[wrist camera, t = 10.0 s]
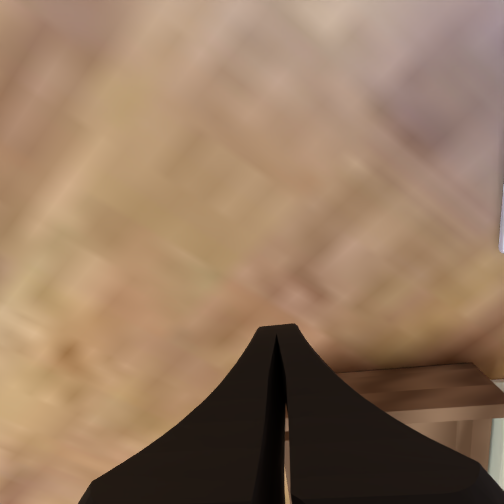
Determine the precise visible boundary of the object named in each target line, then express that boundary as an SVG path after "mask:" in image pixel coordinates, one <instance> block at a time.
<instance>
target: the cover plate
mask: <svg viewBox="0 0 504 504" xmlns="http://www.w3.org/2000/svg"><path fill="white" fill-rule="evenodd" d="M491 381H492V382H493V383H494V384H495V385H496V386H497V387H498V388H500V389H501V390H502V391H503V392H504V379H497V380H491ZM488 474H489V475H490V476H491V477H492V478H493V479H494V480H495V481H496V483H497V484H498V485H499V486H500V487H501V488H502V489H503V490H504V418H494V419H492V426H491V437H490V449H489V461H488Z"/></svg>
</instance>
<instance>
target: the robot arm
mask: <svg viewBox="0 0 504 504" xmlns="http://www.w3.org/2000/svg"><path fill="white" fill-rule="evenodd" d="M499 250H500V252H501V253H503V254H504V186H503V198H502V211H501V224H500V237H499ZM286 407H287V413H288V425H289V452H290V494H291V501H292V504H504V490H503V489H502V488H501V487H500V486H499V485H498V484H497V483H496V481H495V480H494V479H493V478H492V477H491V476H490V475H489V474H488V472H487V471H486V470H485V469H484V468H483V467H482V465H481V464H480V463H479V462H477V461H475V460H473V459H471V458H469V457H467V456H465V455H463V454H461V453H459V452H457V451H455V450H453V449H451V448H449V447H447V446H445V445H443V444H441V443H439V442H437V441H435V440H433V439H430V438H428V437H427V436H425V435H423V434H421V433H419V432H418V431H416V430H414V429H412V428H411V427H409V426H407V425H405V424H404V423H402V422H400V421H398V420H397V419H395V418H394V417H392V416H390V415H389V414H387V413H386V412H384V411H383V410H381V409H380V408H378V407H377V406H376V405H374V404H373V403H371V402H370V401H368V400H367V399H365V398H364V397H363V396H361V395H360V394H359V393H358V392H356V391H355V390H354V389H353V388H351V387H350V386H349V385H348V384H347V383H346V382H344V381H343V380H342V379H341V378H340V377H339V376H338V375H337V374H336V373H335V372H334V371H333V370H332V369H331V368H330V367H329V366H328V365H327V364H326V363H325V362H324V361H323V360H322V359H321V358H320V357H319V355H318V354H317V353H316V352H315V351H314V349H313V348H312V347H311V346H310V344H309V343H308V342H307V340H306V339H305V338H304V336H303V335H302V333H301V332H300V330H299V328H298V326H297V325H296V324H283V325H273V326H263V327H259V328H258V329H257V331H256V333H255V334H254V336H253V338H252V340H251V341H250V343H249V345H248V346H247V348H246V349H245V351H244V352H243V354H242V355H241V357H240V358H239V360H238V361H237V363H236V364H235V365H234V367H233V368H232V369H231V371H230V372H229V373H228V374H227V376H226V377H225V378H224V380H223V381H222V382H221V383H220V384H219V385H218V387H217V388H216V389H215V390H214V391H213V392H212V393H211V394H210V395H209V396H208V397H207V398H206V399H205V400H204V401H203V402H202V403H201V404H200V405H199V406H198V407H196V408H195V409H194V410H193V411H192V412H191V413H190V414H188V415H187V416H186V417H185V418H184V419H183V420H182V421H181V422H179V423H178V424H177V425H176V426H174V427H173V428H172V429H170V430H169V431H168V432H167V433H165V434H164V435H163V436H161V437H160V438H158V439H157V440H156V441H154V442H153V443H152V444H150V445H149V446H147V447H146V448H144V449H143V450H142V451H140V452H139V453H137V454H136V455H134V456H132V457H131V458H129V459H128V460H126V461H124V462H123V463H121V464H120V465H118V466H116V467H115V468H113V469H112V470H110V471H108V472H107V473H105V474H104V475H102V476H100V477H99V478H97V479H95V480H93V481H92V482H91V484H90V485H89V487H88V488H87V490H86V492H85V493H84V495H83V496H82V498H81V499H80V501H79V503H78V504H285V491H284V460H285V417H286Z"/></svg>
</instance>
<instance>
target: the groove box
mask: <svg viewBox="0 0 504 504" xmlns="http://www.w3.org/2000/svg"><path fill="white" fill-rule="evenodd" d="M336 374H337V375H338V376H339V377H340V378H341V379H342V380H343V381H344V382H346V383H347V384H348V385H349V386H350V387H351V388H353V389H354V390H355V391H356V392H358V393H359V394H360V395H361V396H363V397H364V398H365V399H367V400H368V401H370V402H371V403H373V404H374V405H376V406H377V407H378V408H380V409H381V410H383V411H384V412H386V413H387V414H389V415H390V416H392V417H394V418H395V419H397V420H398V421H400V422H402V423H404V424H405V425H407V426H409V427H411V428H412V429H414V430H416V431H418V432H419V433H421V434H423V435H425V436H427V437H428V438H430V439H433V440H435V441H437V442H439V443H441V444H443V445H445V446H447V447H449V448H451V449H453V450H455V451H457V452H459V453H461V454H463V455H465V456H467V457H469V458H471V459H473V460H475V461H477V462H479V463H480V464H481V465H482V467H483V468H484V469H485V470H486V471H487V472H488V461H489V449H490V437H491V426H492V419H494V418H504V392H503V391H502V390H501V389H500V388H498V387H497V386H496V385H495V384H494V383H493V382H492V381H491V380H490V379H489V378H488V377H487V376H486V375H485V374H484V373H483V372H481V371H480V370H479V369H478V368H477V367H476V366H475V365H474V364H473V363H461V364H448V365H436V366H423V367H410V368H397V369H385V370H372V371H359V372H347V373H336ZM284 463H285V470H286V477H287V484H288V491H289V498H290V504H292V501H291V494H290V452H289V425H288V413H287V407H286V417H285V460H284Z"/></svg>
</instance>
